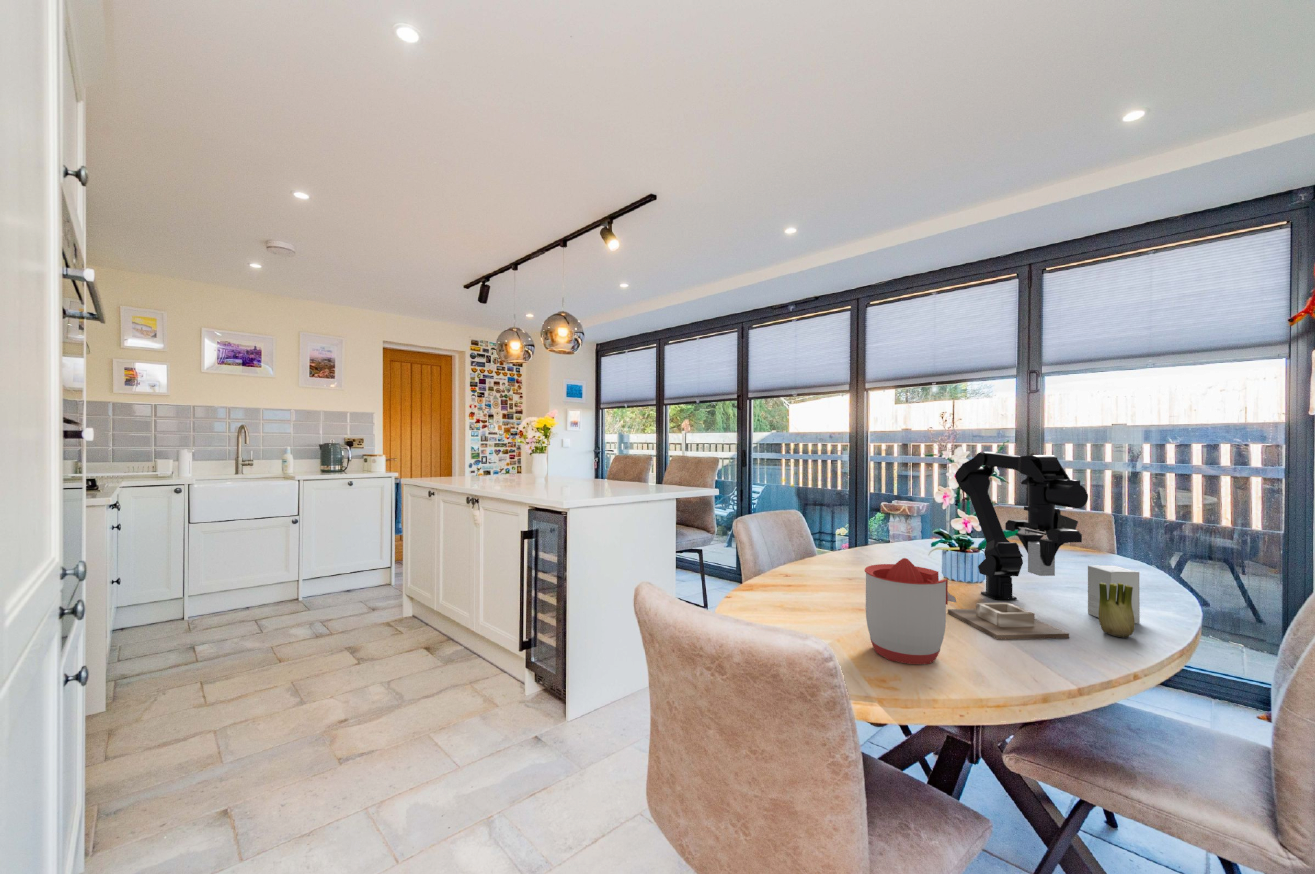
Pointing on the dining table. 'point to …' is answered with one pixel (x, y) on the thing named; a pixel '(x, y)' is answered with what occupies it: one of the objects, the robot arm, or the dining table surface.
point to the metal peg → (1038, 561)
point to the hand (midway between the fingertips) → (1041, 563)
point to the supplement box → (1108, 577)
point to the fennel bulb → (1116, 610)
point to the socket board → (1007, 622)
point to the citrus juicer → (906, 611)
